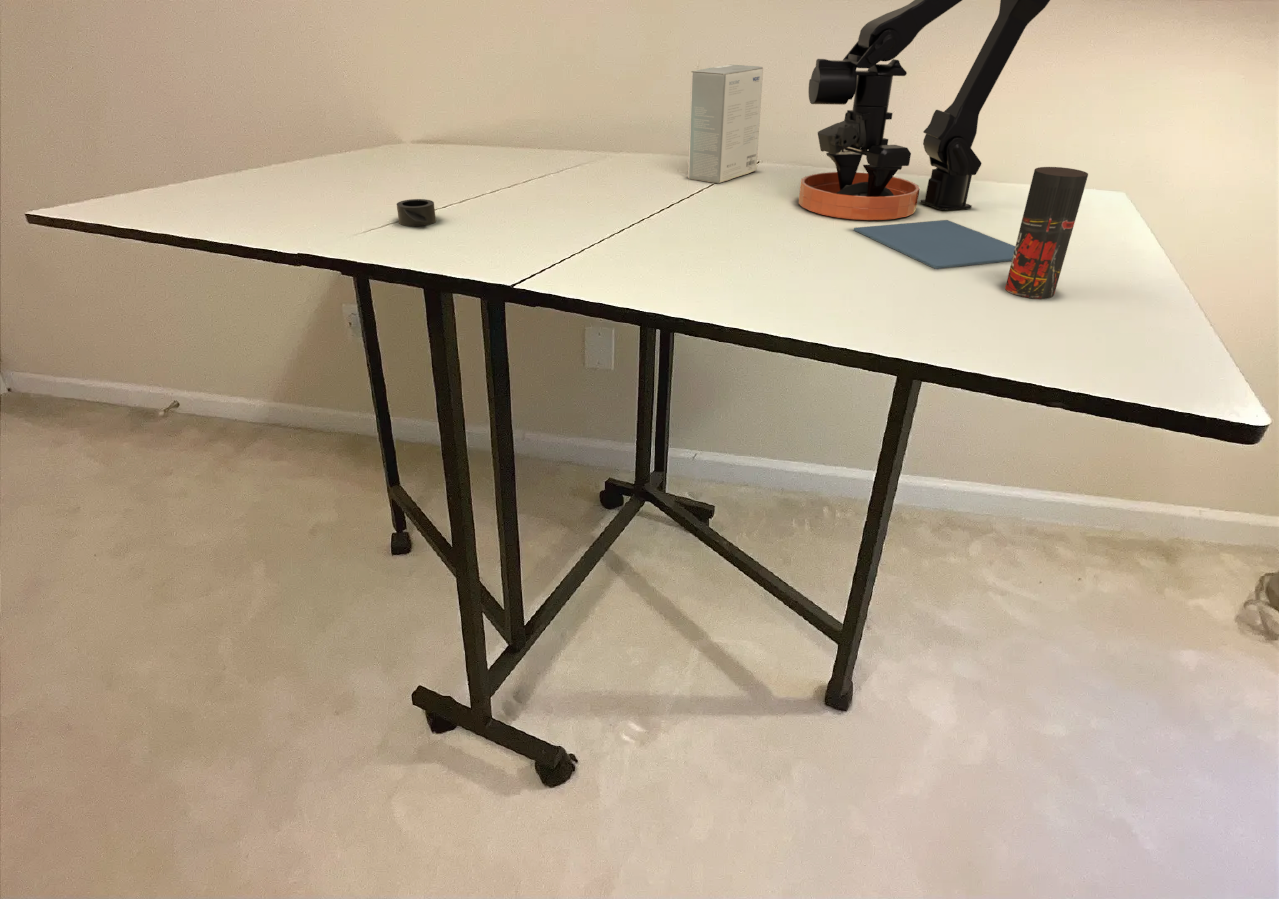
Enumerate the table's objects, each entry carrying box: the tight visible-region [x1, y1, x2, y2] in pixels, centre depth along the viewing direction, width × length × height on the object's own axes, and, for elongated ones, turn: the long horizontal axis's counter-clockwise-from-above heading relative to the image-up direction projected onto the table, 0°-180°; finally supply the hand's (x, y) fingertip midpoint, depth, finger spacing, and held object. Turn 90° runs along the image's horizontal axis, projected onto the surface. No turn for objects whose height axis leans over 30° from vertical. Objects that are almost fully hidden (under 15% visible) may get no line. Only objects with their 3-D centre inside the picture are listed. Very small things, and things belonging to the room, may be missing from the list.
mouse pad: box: [853, 219, 1016, 270], centre depth 124 cm, size 18×21×1 cm
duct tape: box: [396, 198, 437, 227], centre depth 130 cm, size 8×10×3 cm
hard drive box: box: [687, 64, 764, 184], centre depth 160 cm, size 16×8×20 cm, turn 144°
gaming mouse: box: [837, 182, 895, 196], centre depth 142 cm, size 6×15×4 cm, turn 67°
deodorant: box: [1004, 166, 1089, 300], centre depth 101 cm, size 6×6×15 cm
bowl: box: [798, 171, 921, 221], centre depth 142 cm, size 20×20×4 cm
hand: (856, 200), depth 142 cm, fingers closed on gaming mouse, 8 cm apart
